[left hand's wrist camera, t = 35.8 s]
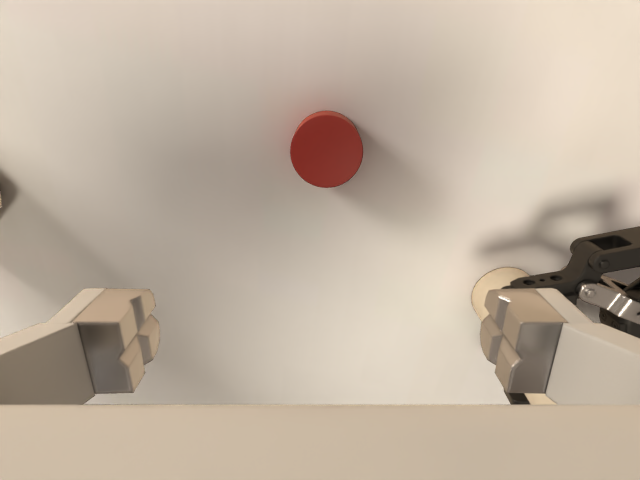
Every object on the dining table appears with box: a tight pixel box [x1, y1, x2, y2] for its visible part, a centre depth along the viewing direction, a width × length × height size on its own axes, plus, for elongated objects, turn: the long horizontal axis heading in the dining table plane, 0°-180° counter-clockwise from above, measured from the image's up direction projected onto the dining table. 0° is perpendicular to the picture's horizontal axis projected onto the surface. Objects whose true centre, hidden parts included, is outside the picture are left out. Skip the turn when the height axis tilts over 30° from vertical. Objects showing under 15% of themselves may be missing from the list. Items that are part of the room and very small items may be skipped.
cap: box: [290, 111, 363, 188], centre depth 28 cm, size 5×5×2 cm
